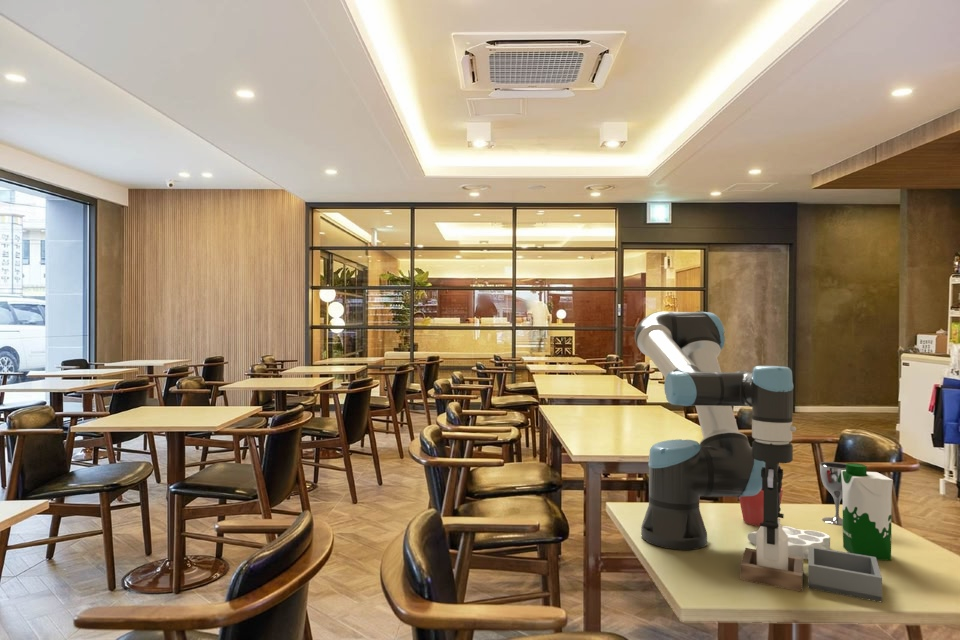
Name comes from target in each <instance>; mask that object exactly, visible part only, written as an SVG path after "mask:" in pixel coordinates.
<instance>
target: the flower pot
mask: <svg viewBox="0 0 960 640" xmlns="http://www.w3.org/2000/svg"><path fill="white" fill-rule="evenodd" d="M783 491H784V489H783V487H782V488H781V493H780V504H781V502H782V498H783ZM738 500H739V504H740V510H741V514H742V518H743V522H744V521H745V522H744V523H746V524H749V525H751V526H754V525H755V527H759V528H760V527H761V526H760V523H763V520H764V491H763V490H762V489H761V491H760V492H759V493H758V494H756V495H754V496H744V497H738Z"/></svg>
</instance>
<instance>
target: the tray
mask: <svg viewBox="0 0 960 640" xmlns="http://www.w3.org/2000/svg"><path fill="white" fill-rule="evenodd" d="M807 560H808V562H807V563H808V564H807V566H808V567H807V568H808V569H807V571H808V572H807V575H808V577H807V581H808V583H807V588H808V589H811V590H816V591H821V592H826V593H831V594H837V595H842V596H847V597H850V598H852V597H853V598H855V599H856V598H857V599H862V598H863V599H862V600H867V599H870V600H869V601H872V600H875V601H874V602H877V601H882V602H883V578H882V573H881V570H880V567H879V563H878V560H877V559H876V557H872V556H866V555H860V554H854V553H850V552H849V551H840V550H834V549H830V550H829V549H823V548H817V547H811V546H809V552H808V559H807Z"/></svg>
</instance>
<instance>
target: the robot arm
mask: <svg viewBox="0 0 960 640" xmlns="http://www.w3.org/2000/svg"><path fill="white" fill-rule="evenodd" d="M634 341H635V345H636V347H637V348H638V349H639V351H640V352H641V354H643V355H645V356H646V357H649V358H650V360H651V361H652V363H653V364H654V365H655V366H656V368H657V369H658V370H659V372H660V373H661V375H662V376H663V378H664V384H663V385H664V386H663V387H664V395H665V398H666V400H667V402H668V403H669V404H670V405H673V406H683V407H689V406H690V407H692V406H695V409H696V414H697V417H698V421H699V426H700V429H701V433H702V437H703V438H702V439H701V441H700V442H699V441H696V440H693V439H679V438H677V439H669V440H664V441H660V442H657V443H654V444H653V445H652V446H651V447H650V449H649V455H648V456H649V457H648V464H647V465H648V507H647V509H646V512H645V515H644V517H643V521H642V524H641V526H640V527H641V530H640V531H641V532H640V534H641V535H642V536H641V538H642V539H643V540H644V541H645V540H646V541H645V542H647V543H649V544H652V545H654V546H657V547H660V548H665V549H671V550H678V551H679V550H681V551H682V550H683V551H685V550H686V551H687V550H688V551H690V550H698V549H702V548H704V547H706V546H707V545H708V532H707V529H706V526H705V522H704V520H703V516H702V514H701V509H700V497H727V498H729V497H732V498H733V497H734V498H739V497H744V496H754V495H756V494H758V493H759V492H760V491H761V489H762V490H763V491H764V520H763V523H760V526H763V527H764V559H770V560H776V561H779V527H778V519H779V520H780V521H781V519H784V515H785V514H784V513H780V512H781V511H782V509H781V503H780V493H781V488H782V489H783V487H782V486H783V480H784V479H783V478H784V469H783V468H781V466H780V464H790V463H791V462H792V461H793V460H794V459H793V458H794V457H793V456H794V455H793V454H794V453H793V452H794V450H793V449H794V447H793V446H794V445H793V444H792V443H791V442H792V441H793V432H797V428H796V426H793V418H794V417H793V415H794V414H793V412H794V410H793V409H794V383H793V371H792V369H791V368H790V367H787V366H777V365H756V366H754V367H753V369H752V371H748V370H747V371H746V370H745V371H742V370H741V371H739V370H738V371H731V372H728V371H726V372H724V371H722V369H721V366H720V362H719V360H718V357H719V356H720V355H721V351H722V350H723V348H724V347H725V342H726V337H725V328H724V325H723V322H722V320H721V319H720V317H719V316H718V315H716V314H715V313H713V312H711V311H710V312H709V311H707V312H706V311H702V310H701V311H700V310H698V311H667V310H665V311H663V310H662V311H656V312H653V313H651V314H649V315H647V316H645V317H644V318H642V320H641V321H640V322H639V323H638V324H637V326H636V329H635V331H634ZM733 407H749V408H751V409H752V415H751V417H752V418H751V437H752V438H753V439H754V440H753V441H752V442H751V445H750V442H749V438H748V436H747V435H746V434H744V433H742V432H740V431H739V428H738V424H737V420H736V418H735V417H736V416H735V413H734V410H733ZM760 526H759V527H760Z"/></svg>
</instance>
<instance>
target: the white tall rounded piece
mask: <svg viewBox="0 0 960 640" xmlns="http://www.w3.org/2000/svg"><path fill="white" fill-rule="evenodd" d="M779 519H780V518H778V527H779V561H776V560H770V559H764V527H763V526H761V527H760V526H759V528H758V529H757V530H756V531H755V532H756V545H755V547H756V548H755V549H756V551H757V565H759V566H764V567H770V568H775V569H781V570H786V571H788V536H787V535H786V533H785V532H784V530H783V529H782V525H781V519H780V520H779Z"/></svg>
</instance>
